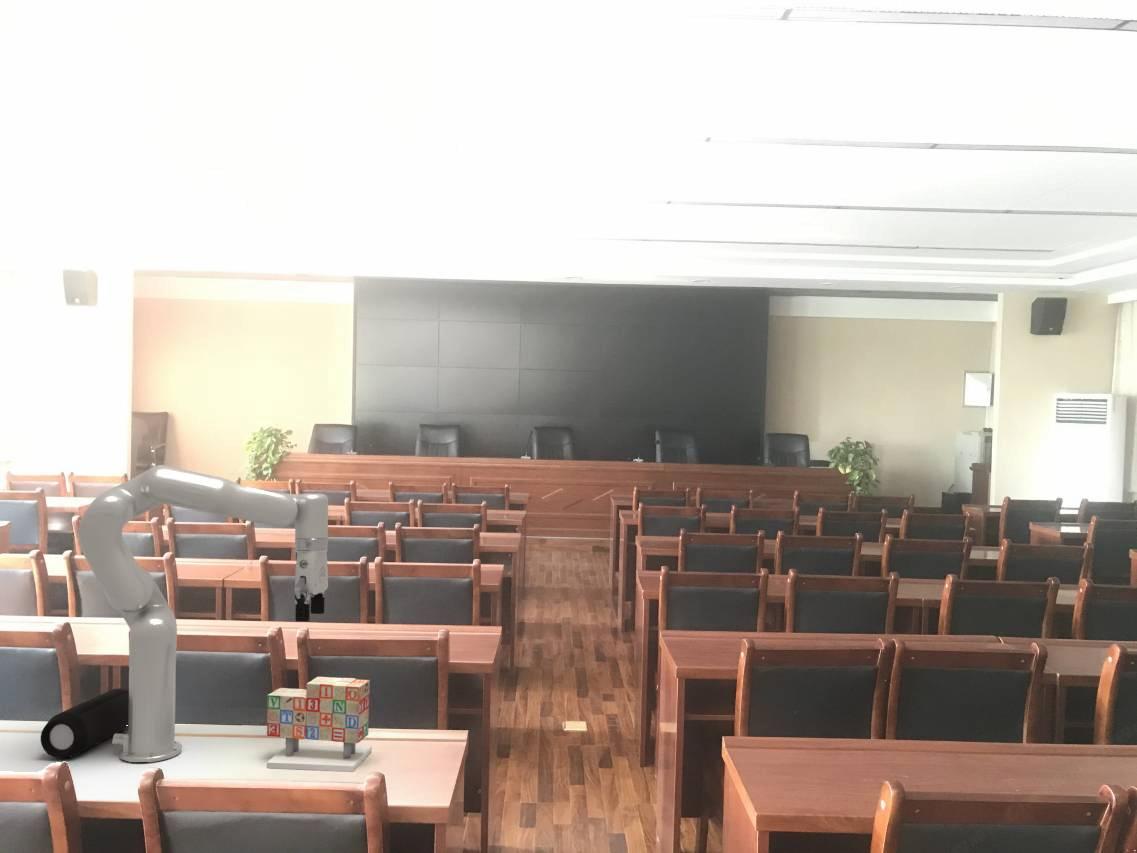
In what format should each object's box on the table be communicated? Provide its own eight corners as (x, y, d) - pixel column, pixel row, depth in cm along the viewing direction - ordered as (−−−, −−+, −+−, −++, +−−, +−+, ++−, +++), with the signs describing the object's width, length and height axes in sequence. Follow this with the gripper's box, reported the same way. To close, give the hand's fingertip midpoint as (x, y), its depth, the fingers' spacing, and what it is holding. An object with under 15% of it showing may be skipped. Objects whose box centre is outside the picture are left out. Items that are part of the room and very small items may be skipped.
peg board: (266, 768, 197) (267, 743, 198) (290, 748, 210) (290, 725, 211) (353, 771, 196) (353, 747, 196) (371, 751, 209) (371, 728, 209)
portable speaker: (105, 726, 226) (105, 685, 226) (143, 727, 225) (144, 686, 225) (36, 761, 201) (37, 715, 201) (79, 763, 200) (80, 716, 200)
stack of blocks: (265, 737, 202) (266, 680, 202) (279, 728, 208) (280, 674, 208) (358, 743, 198) (359, 686, 199) (369, 734, 204) (370, 678, 205)
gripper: (313, 549, 211) (312, 624, 210) (338, 541, 228) (337, 611, 228) (281, 548, 211) (280, 623, 211) (309, 541, 229) (308, 610, 228)
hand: (310, 617), depth 219 cm, fingers open, 9 cm apart
